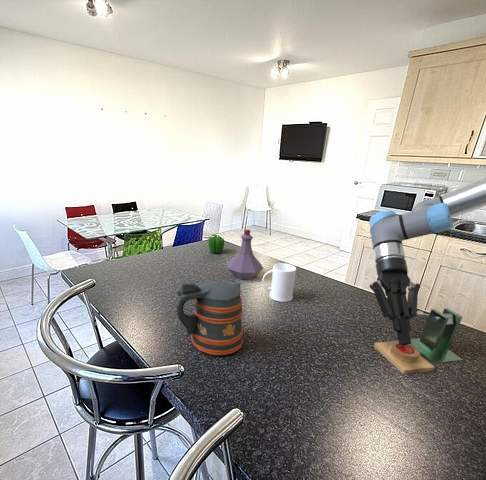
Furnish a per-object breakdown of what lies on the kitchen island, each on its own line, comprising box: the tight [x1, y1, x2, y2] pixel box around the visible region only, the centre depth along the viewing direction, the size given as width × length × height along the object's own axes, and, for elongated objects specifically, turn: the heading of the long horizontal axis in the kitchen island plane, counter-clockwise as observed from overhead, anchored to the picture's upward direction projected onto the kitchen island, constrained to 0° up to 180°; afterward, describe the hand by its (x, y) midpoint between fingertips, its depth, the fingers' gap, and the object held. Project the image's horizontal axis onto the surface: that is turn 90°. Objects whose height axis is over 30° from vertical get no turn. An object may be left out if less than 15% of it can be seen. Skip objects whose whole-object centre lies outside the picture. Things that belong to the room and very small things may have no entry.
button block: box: [373, 340, 436, 375], centre depth 77 cm, size 8×11×4 cm
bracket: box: [410, 307, 464, 364], centre depth 78 cm, size 10×9×13 cm
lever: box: [415, 310, 453, 324], centre depth 81 cm, size 12×6×2 cm, turn 9°
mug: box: [261, 262, 297, 303], centre depth 107 cm, size 12×8×12 cm
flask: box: [226, 229, 265, 280], centre depth 123 cm, size 16×16×20 cm
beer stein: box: [176, 280, 244, 357], centre depth 79 cm, size 19×15×20 cm
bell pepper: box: [207, 233, 225, 254], centre depth 152 cm, size 8×8×10 cm
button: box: [397, 345, 413, 354], centre depth 76 cm, size 4×4×2 cm
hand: (404, 344), depth 76 cm, fingers closed
